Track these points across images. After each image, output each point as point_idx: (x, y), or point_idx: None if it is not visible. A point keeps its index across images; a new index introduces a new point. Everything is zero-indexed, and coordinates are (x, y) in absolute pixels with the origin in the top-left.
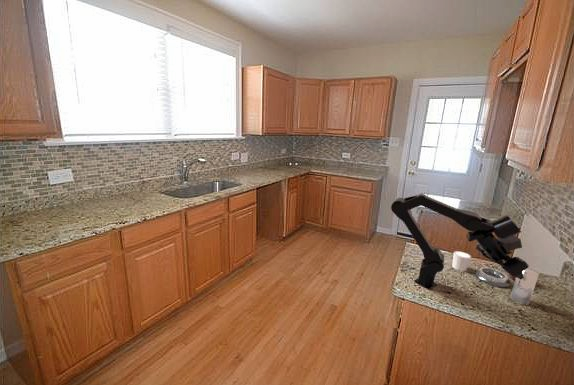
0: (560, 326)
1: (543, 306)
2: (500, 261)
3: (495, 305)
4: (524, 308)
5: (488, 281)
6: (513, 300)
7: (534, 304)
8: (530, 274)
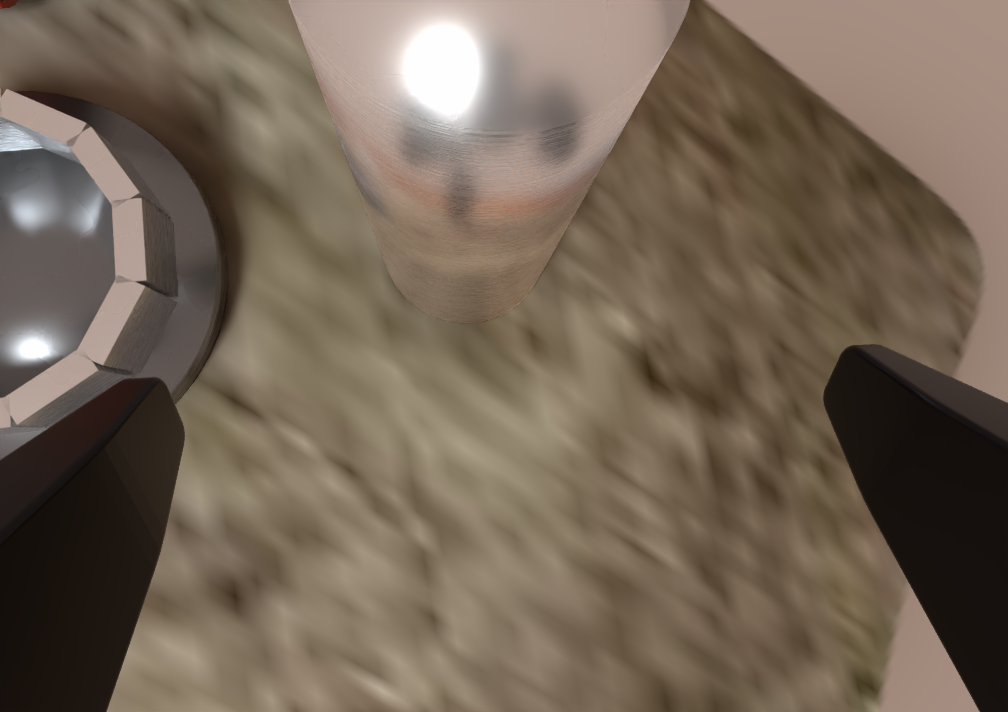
0: (815, 156)
1: None
2: (93, 532)
3: (617, 596)
4: (609, 297)
5: None
6: (487, 320)
7: None
8: (668, 40)
